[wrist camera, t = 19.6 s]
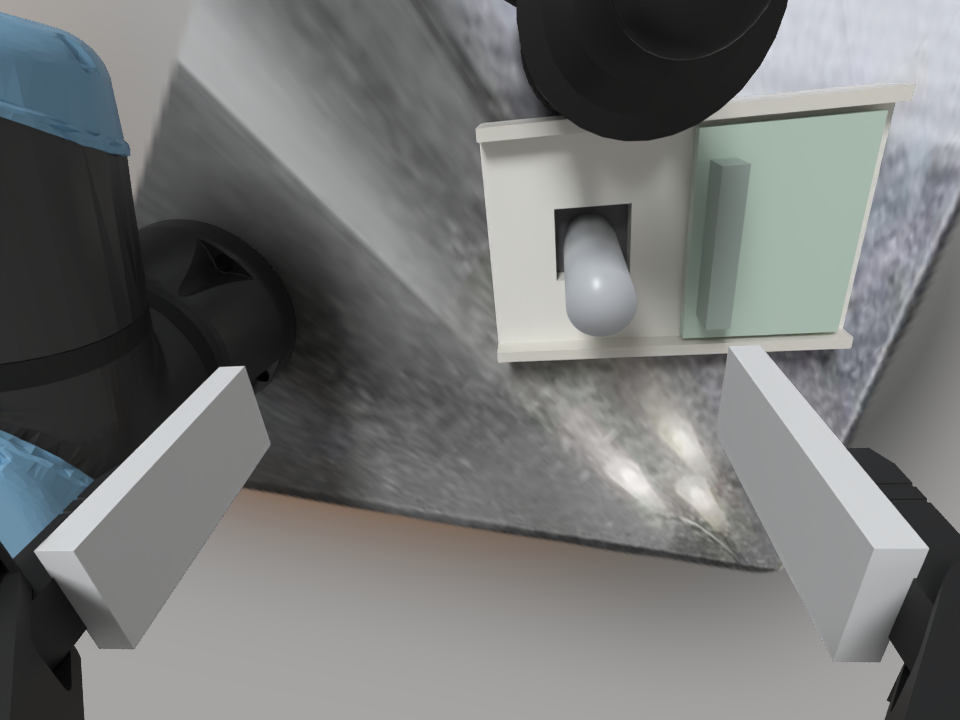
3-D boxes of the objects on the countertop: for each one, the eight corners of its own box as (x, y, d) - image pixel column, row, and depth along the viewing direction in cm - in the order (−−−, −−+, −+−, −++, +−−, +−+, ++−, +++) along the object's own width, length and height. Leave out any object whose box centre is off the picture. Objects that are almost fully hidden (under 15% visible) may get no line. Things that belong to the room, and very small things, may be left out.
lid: (679, 332, 39) (691, 355, 36) (695, 126, 32) (711, 132, 29) (830, 325, 37) (856, 348, 34) (878, 109, 31) (915, 113, 28)
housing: (501, 341, 43) (498, 362, 40) (481, 123, 36) (475, 128, 32) (827, 326, 40) (850, 348, 37) (880, 82, 32) (915, 84, 29)
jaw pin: (563, 263, 39) (566, 337, 29) (562, 213, 38) (565, 273, 27) (614, 261, 39) (635, 335, 28) (615, 210, 37) (639, 270, 27)
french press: (719, 3, 32) (1058, -159, 11) (629, 155, 36) (757, 240, 15) (544, -105, 30) (563, -519, 10) (470, 66, 34) (376, 28, 14)
